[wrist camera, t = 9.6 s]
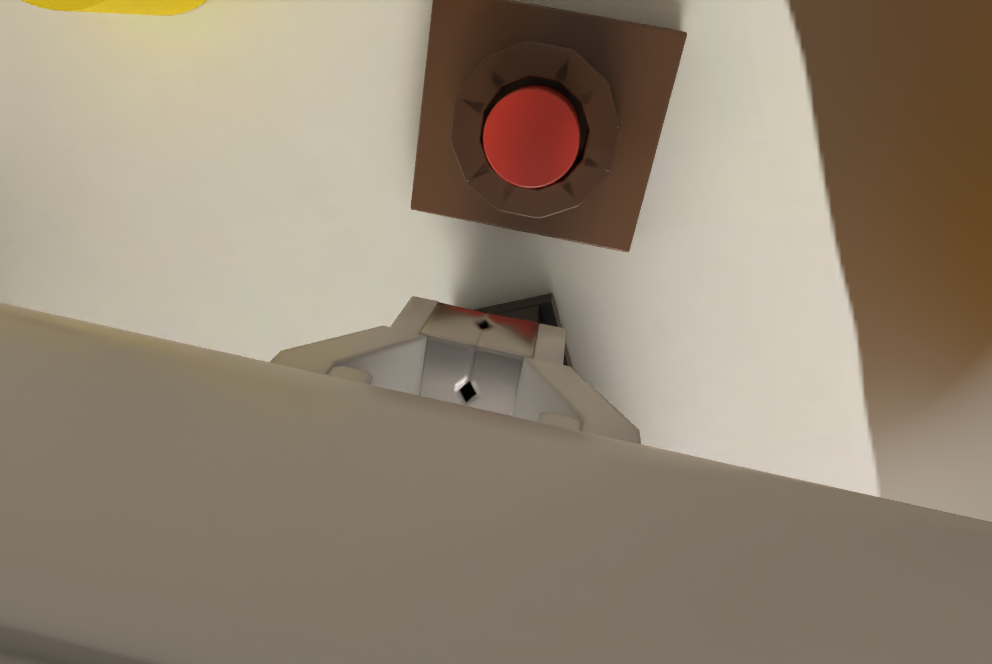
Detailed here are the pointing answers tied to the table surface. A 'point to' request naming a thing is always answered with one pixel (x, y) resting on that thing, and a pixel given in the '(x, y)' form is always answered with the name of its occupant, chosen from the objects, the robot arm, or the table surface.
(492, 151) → the call button
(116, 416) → the robot arm
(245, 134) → the table surface
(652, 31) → the block
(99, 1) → the crank
